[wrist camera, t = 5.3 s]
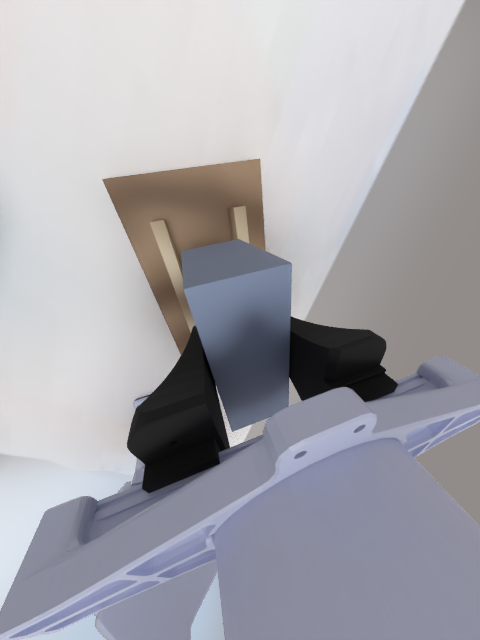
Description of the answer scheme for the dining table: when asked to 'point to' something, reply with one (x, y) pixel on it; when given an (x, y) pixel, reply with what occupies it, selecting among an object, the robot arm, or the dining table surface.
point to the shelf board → (186, 224)
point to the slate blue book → (242, 325)
